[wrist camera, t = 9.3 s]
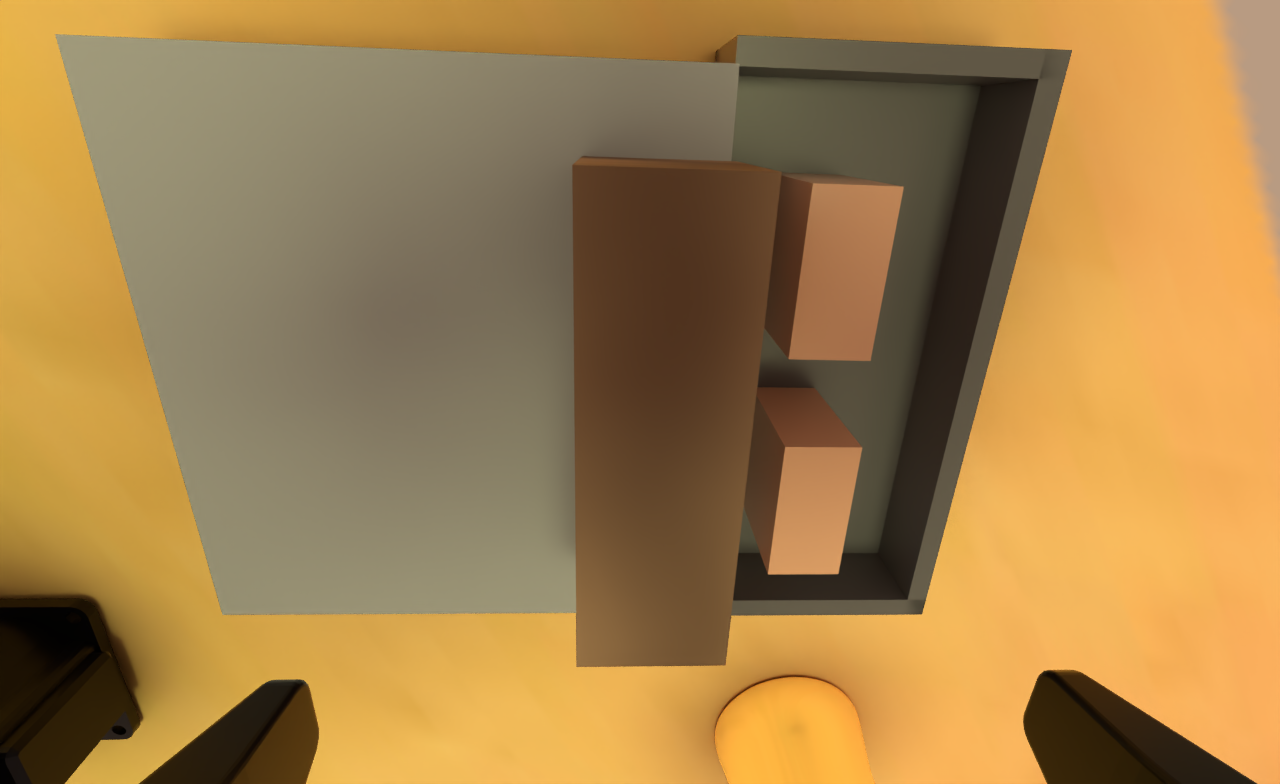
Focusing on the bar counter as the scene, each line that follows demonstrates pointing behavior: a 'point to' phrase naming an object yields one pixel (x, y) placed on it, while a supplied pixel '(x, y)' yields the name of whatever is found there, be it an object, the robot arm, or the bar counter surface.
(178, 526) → the bar counter surface
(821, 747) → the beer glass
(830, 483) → the tile
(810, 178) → the tile
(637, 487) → the brown wooden plank
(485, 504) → the board
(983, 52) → the tray
